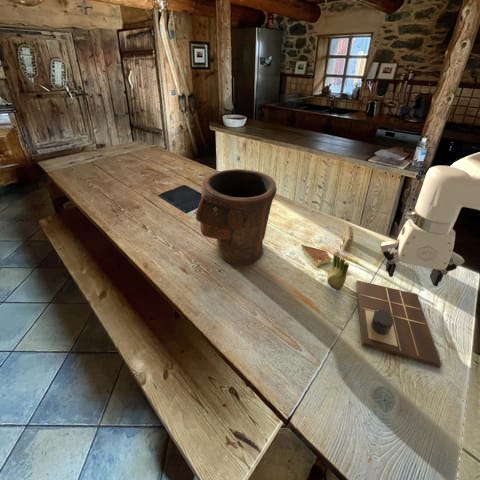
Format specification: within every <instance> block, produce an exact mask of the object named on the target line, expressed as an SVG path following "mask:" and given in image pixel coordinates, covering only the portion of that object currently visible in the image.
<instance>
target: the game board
mask: <svg viewBox="0 0 480 480" xmlns="http://www.w3.org/2000/svg"><path fill="white" fill-rule="evenodd" d="M355 289H356V299H357V309H358V321H359V330H360V339H361V346H362V347H365V348H368V349H372V350H376V351H379V352H383V353H386V354H390V355H392V356H396V357H400V358H403V359H407V360H409V361H413V362H417V363H421V364H424V365H427V366H430V367H435V368H438V369H440V368H441V367H442V362H441V360H440V359H441V358H440V356H439V353H438V351H437V347H436V345H435V342H434V339H433V336H432V333H431V330H430V327H429V325H428V321H427V318H426V316H425V313H424V311H423V307H422V304H421V302H420V299H419V295H418V294H417V293H414V292H410V291H405V290H401V289H396V288H392V287H389V286H383V285H381V284H380V285H379V284H375V283H371V282H367V281H361V280H355ZM376 310H384V311H386V312H388V313H389V314H390V315H391V316H392V317H393V320H394V322H393V325H392V327H391V330H390V332H389V334H387V335H381V334H379V333H377V332H376V331H375V330H374V329H373V328H372V326H371V321H372V318H373V315H374V312H375V311H376Z"/></svg>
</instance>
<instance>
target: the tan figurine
mask: <svg viewBox="0 0 480 480" xmlns="http://www.w3.org/2000/svg"><path fill="white" fill-rule="evenodd" d="M353 244H354V229H353V227H351V226H350V225H349V226H347V227H346V229H345V231H344V233H343V234H342V241H341V244H340V245H339V247H338V249H337V251H336V253H337V254H338V255H339V252H340V250H341V248H342V249H343V250H344V251H346V252H348V251H350V249H351V248H352V246H353Z"/></svg>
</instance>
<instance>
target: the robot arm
mask: <svg viewBox="0 0 480 480" xmlns="http://www.w3.org/2000/svg"><path fill="white" fill-rule="evenodd" d="M462 208H468V209H472V210H477V211H480V151H479V152H476V153H472V154H469V155H467V156H465V157H462V158H459V160H457V161H455V162H453V163H452V164H451V165H450V166H449V165H434V166H431V167H430V168H429V169H428V170H427V172H426V174H425V177H424V180H423V182H422V186H421V189H420V192H419V195H418V198H417V201H416V203H415V207H414V208H413V210H412V211H410V212H408V211H406V212H405V218H406V219H407V220H406V221H405V223H404V225H403V226H402V228H401V230H400V231H399V234H398V236H397V239H395V240H394V239H393V240H388V241H383V242H380V243H379V247H380V250H381V252H382V255H383V258H385V259H386V265H385V271H386V272H387V274H388V277H389V278H393V277H394V274H395V271H396V269H397V263H398V262H400V263H402V264H405V265H412V266H417V267H421V268H427V269H432V270H431V272H430V274H429V279H430V281H431V284H432V285H433V286H434V287H438V286H439V284H440V283H441V282H442V280H443V277H444V275H448V274H449V272H451V271H455V270H456V269H457V268H458V267H460V266H461V265H462V264H464V263H465V259H464V258H463V256H461V255H460V254H458V253H456V252H455V251H454V246H455V241H456V231H455V230H454V229H453V228H454V225H455V223H456V222H457V219H458V216H459V215H460V213H461V210H462ZM389 249H393V250H392V251H389Z"/></svg>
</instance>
